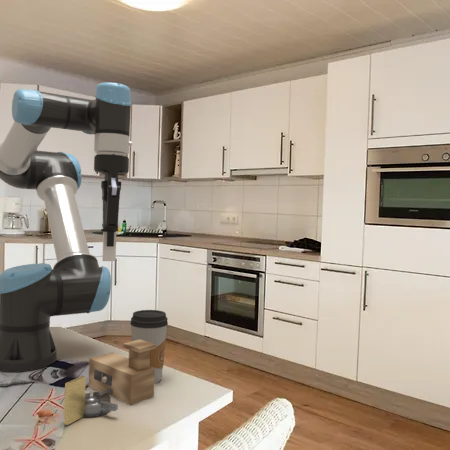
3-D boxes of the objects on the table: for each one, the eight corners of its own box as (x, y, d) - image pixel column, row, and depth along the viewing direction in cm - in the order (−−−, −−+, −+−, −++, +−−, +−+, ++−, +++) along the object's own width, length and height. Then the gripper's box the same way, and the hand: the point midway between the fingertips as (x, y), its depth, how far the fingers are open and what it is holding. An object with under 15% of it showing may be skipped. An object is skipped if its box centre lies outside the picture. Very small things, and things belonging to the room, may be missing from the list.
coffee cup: (158, 388, 102) (161, 319, 101) (122, 384, 103) (124, 316, 103) (170, 375, 110) (173, 311, 109) (137, 371, 112) (139, 308, 111)
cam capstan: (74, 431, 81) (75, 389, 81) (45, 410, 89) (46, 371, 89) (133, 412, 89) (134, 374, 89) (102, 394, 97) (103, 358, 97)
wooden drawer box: (84, 387, 101) (85, 337, 100) (112, 378, 106) (113, 330, 106) (126, 407, 92) (127, 352, 92) (154, 396, 98) (156, 344, 97)
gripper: (133, 153, 101) (130, 264, 102) (124, 158, 113) (121, 257, 114) (97, 151, 98) (94, 264, 99) (92, 156, 110) (89, 257, 111)
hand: (108, 260), depth 106 cm, fingers closed
